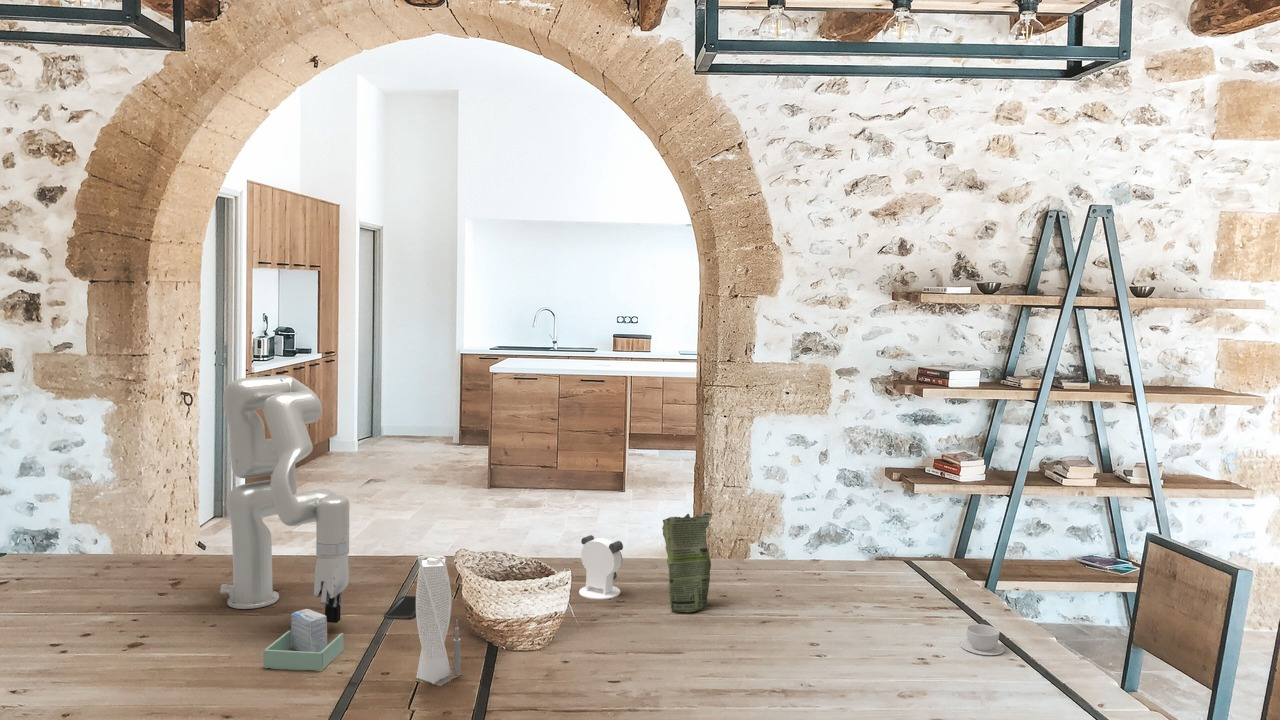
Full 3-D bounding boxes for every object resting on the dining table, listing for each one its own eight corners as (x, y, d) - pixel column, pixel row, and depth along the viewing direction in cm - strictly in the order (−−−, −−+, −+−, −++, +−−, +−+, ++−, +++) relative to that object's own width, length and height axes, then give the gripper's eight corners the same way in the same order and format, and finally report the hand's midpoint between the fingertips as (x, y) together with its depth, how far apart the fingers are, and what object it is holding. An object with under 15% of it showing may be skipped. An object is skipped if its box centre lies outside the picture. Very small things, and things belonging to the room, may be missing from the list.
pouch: (658, 610, 243) (660, 516, 241) (674, 596, 254) (675, 506, 252) (699, 616, 239) (701, 521, 237) (713, 602, 250) (715, 510, 248)
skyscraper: (435, 690, 195) (434, 559, 193) (407, 681, 199) (406, 553, 197) (463, 676, 202) (462, 549, 200) (435, 667, 207) (435, 543, 204)
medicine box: (328, 652, 214) (327, 615, 213) (310, 658, 210) (310, 620, 209) (308, 643, 218) (307, 607, 218) (291, 649, 215) (290, 612, 214)
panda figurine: (630, 591, 258) (630, 538, 257) (606, 602, 249) (607, 547, 248) (594, 583, 265) (595, 531, 264) (570, 594, 255) (571, 540, 254)
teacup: (983, 660, 214) (984, 640, 214) (950, 645, 223) (951, 626, 223) (1014, 652, 219) (1014, 633, 219) (980, 638, 228) (981, 619, 228)
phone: (382, 615, 235) (403, 595, 250) (383, 619, 235) (403, 599, 250) (413, 616, 235) (431, 596, 249) (413, 621, 235) (431, 600, 250)
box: (263, 668, 204) (263, 650, 204) (288, 647, 216) (288, 630, 216) (321, 671, 203) (321, 653, 203) (343, 649, 215) (343, 633, 215)
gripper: (330, 537, 232) (330, 609, 233) (303, 556, 217) (304, 632, 219) (360, 539, 231) (359, 611, 233) (334, 558, 216) (334, 634, 218)
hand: (332, 621), depth 226 cm, fingers closed
